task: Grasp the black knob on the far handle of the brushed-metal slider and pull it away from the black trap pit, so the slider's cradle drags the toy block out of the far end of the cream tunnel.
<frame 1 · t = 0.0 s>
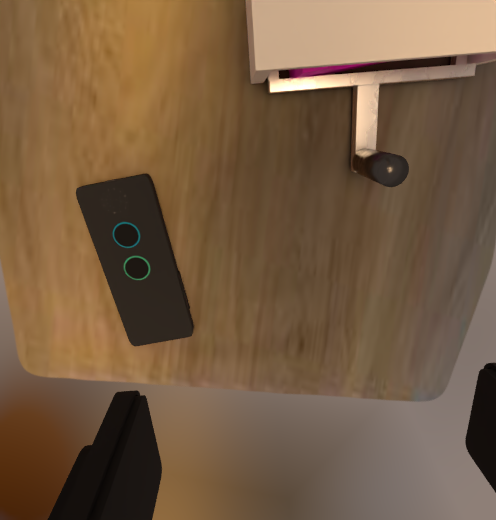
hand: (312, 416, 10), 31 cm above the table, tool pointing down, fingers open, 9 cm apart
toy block: (363, 30, 34), resting in slider
slider: (379, 71, 31), point 5 cm above the table, slide at 0.0 cm, touching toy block
tunnel: (363, 27, 34), on the table
smart home device: (142, 262, 42), on the table
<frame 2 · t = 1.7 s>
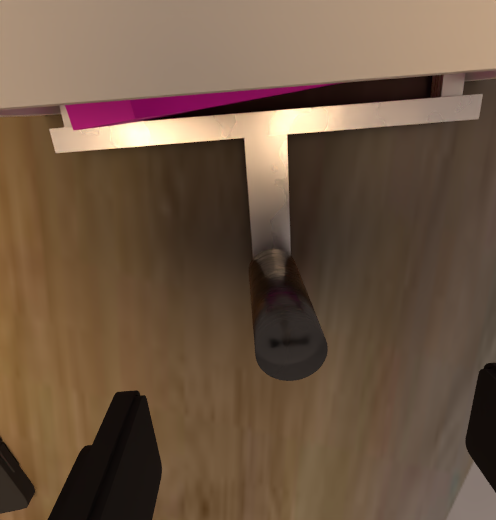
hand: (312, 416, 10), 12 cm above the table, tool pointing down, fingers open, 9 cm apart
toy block: (269, 24, 17), resting in slider
slider: (270, 115, 14), point 5 cm above the table, slide at 0.6 cm
tunnel: (255, 1, 16), on the table
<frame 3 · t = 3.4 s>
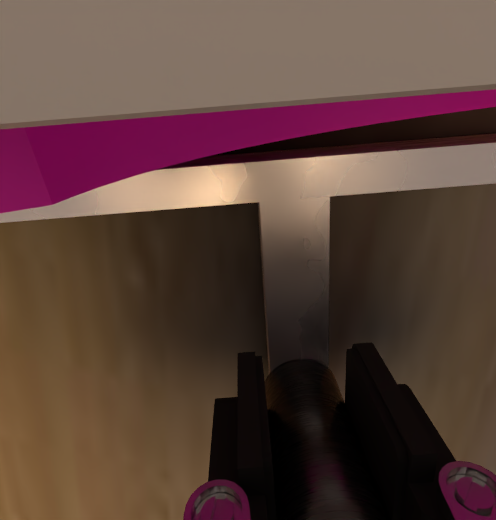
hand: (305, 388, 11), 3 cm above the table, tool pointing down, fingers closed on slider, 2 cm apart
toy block: (319, 13, 11), resting in slider
slider: (313, 175, 7), point 5 cm above the table, slide at 1.1 cm, touching gripper
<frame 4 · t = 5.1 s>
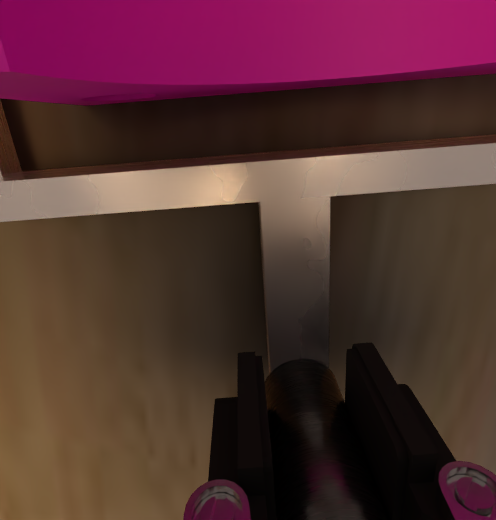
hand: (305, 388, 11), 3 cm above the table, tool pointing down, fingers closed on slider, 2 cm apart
slider: (313, 174, 7), point 5 cm above the table, slide at 7.3 cm, touching gripper
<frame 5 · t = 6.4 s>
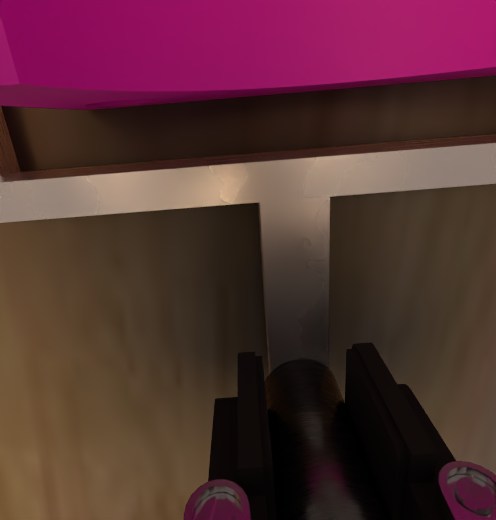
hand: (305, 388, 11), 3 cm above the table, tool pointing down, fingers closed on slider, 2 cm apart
slider: (313, 175, 7), point 5 cm above the table, slide at 12.0 cm, touching gripper
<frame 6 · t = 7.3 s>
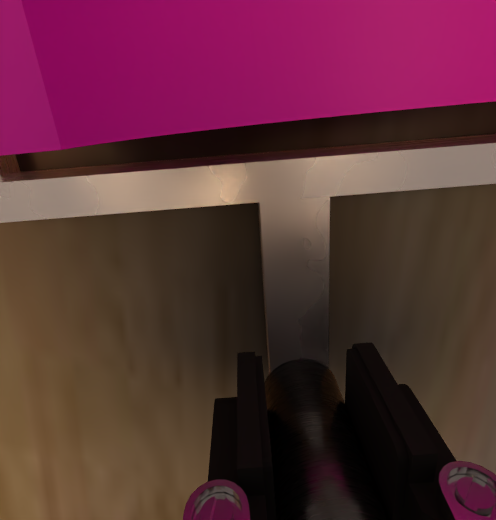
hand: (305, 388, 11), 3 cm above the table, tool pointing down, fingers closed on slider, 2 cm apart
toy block: (336, 0, 11), resting in slider
slider: (313, 175, 7), point 5 cm above the table, slide at 12.0 cm, touching gripper
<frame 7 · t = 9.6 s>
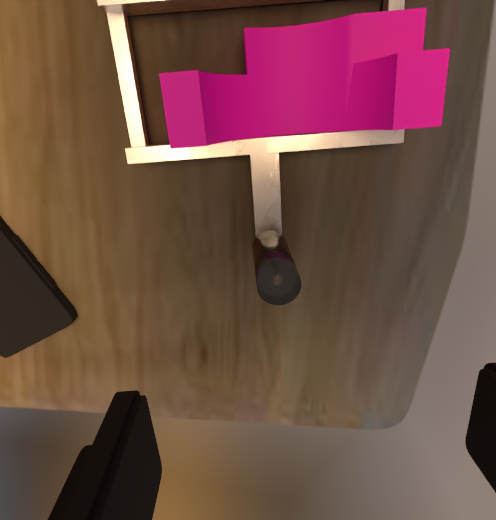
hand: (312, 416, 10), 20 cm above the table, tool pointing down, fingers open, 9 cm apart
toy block: (286, 86, 26), resting in slider
slider: (266, 141, 22), point 5 cm above the table, slide at 12.0 cm
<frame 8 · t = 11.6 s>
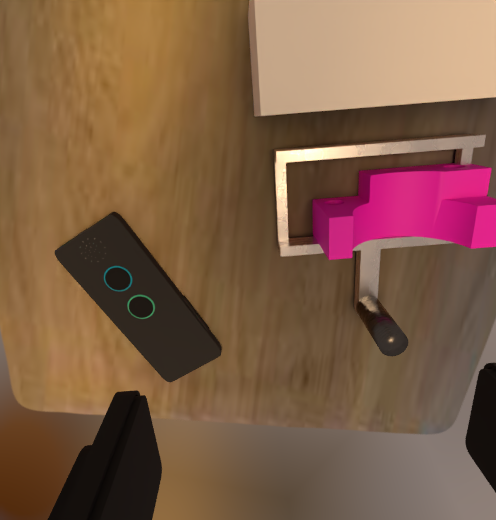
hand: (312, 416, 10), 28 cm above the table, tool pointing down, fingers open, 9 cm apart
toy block: (384, 198, 37), resting in slider
slider: (381, 247, 34), point 5 cm above the table, slide at 12.0 cm
tunnel: (373, 58, 32), on the table
smart home device: (147, 299, 41), on the table
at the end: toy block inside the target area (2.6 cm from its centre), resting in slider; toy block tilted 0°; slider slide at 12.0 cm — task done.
